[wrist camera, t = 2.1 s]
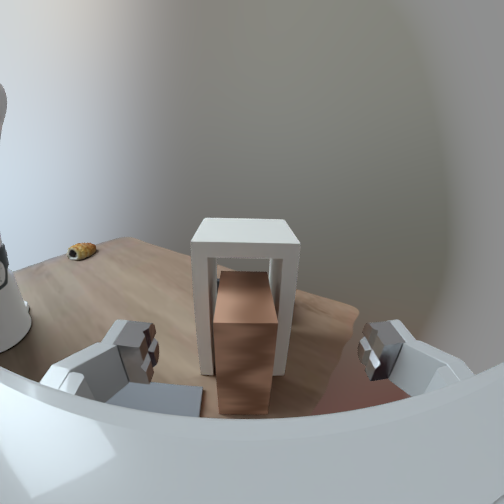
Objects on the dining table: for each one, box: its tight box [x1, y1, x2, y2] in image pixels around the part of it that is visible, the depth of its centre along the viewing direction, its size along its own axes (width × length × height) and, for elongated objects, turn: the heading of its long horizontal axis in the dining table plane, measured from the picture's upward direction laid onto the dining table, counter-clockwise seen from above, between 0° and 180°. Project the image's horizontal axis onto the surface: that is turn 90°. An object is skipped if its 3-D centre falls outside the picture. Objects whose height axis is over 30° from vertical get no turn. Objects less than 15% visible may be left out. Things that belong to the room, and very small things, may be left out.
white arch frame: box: [191, 218, 300, 376], centre depth 32 cm, size 10×10×16 cm
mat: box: [105, 382, 203, 417], centre depth 22 cm, size 11×11×1 cm
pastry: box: [67, 243, 96, 260], centre depth 65 cm, size 9×7×4 cm
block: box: [213, 271, 278, 415], centre depth 27 cm, size 5×10×12 cm, turn 2°
